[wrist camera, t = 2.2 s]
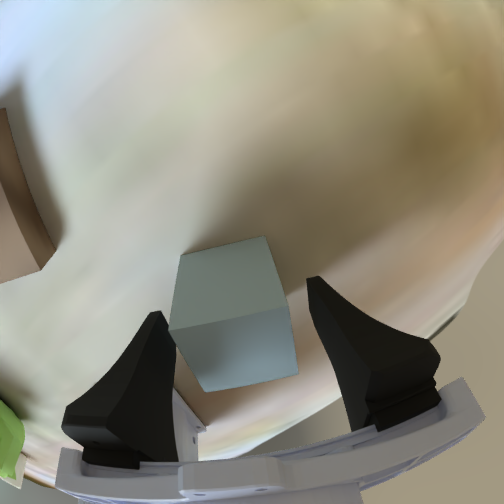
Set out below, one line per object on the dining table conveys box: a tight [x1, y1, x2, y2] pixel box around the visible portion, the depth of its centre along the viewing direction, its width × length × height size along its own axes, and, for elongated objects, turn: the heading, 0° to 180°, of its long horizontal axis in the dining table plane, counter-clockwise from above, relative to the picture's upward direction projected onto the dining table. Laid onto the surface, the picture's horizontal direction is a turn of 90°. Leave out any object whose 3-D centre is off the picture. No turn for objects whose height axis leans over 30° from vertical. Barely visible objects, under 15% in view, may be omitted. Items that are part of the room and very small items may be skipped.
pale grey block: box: [168, 236, 299, 392], centre depth 14 cm, size 4×4×6 cm
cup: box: [0, 453, 27, 489], centre depth 31 cm, size 8×12×10 cm
